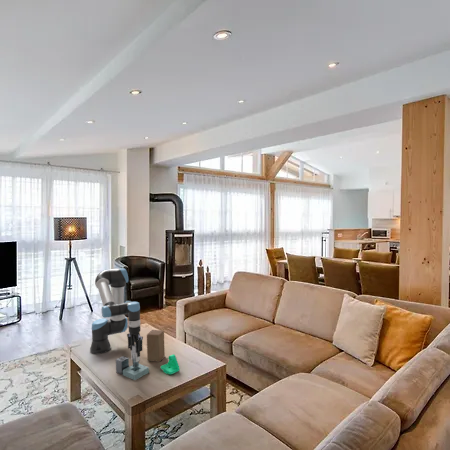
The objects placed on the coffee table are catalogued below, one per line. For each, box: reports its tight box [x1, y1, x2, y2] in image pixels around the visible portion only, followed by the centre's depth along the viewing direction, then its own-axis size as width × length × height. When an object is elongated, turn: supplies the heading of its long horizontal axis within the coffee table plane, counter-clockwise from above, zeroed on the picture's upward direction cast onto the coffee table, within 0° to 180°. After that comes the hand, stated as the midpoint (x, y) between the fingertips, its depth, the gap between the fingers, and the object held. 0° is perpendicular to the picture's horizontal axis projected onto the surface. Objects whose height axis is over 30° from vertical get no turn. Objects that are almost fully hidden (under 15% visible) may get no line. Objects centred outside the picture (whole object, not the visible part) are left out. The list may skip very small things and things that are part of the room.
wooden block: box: [146, 329, 166, 363], centre depth 239 cm, size 10×10×20 cm
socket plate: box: [122, 363, 150, 381], centre depth 217 cm, size 12×12×4 cm
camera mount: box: [160, 354, 180, 375], centre depth 221 cm, size 12×8×10 cm, turn 45°
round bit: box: [131, 344, 140, 367], centre depth 217 cm, size 4×4×14 cm
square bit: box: [115, 355, 130, 376], centre depth 220 cm, size 6×6×9 cm
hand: (135, 360), depth 217 cm, fingers closed on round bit, 4 cm apart
